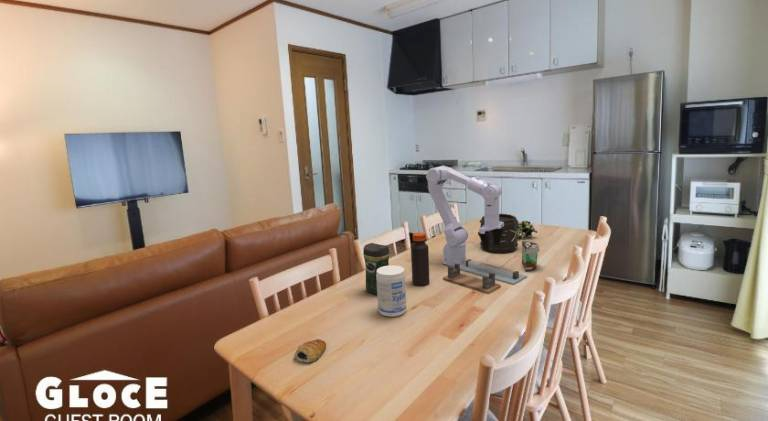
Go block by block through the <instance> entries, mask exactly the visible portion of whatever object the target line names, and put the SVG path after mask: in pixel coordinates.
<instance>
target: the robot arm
mask: <svg viewBox="0 0 768 421" xmlns="http://www.w3.org/2000/svg"><path fill="white" fill-rule="evenodd" d="M425 178H426V181H427V187H428V188H427V190H428V192H429V195H430V197H431V199H432V200H433V203H434V205H435V207H436V209H437V212H438V213H439V216H440V218H441V219H442V222H443V224H444V226H445V228H444V231H443V233H444V235H445V242H446V243H445V244H444V246H443V249H442V250H443V251H442V253H443V255H442V256H443V261H442V265H447V266H451V267H453V268H454V264H455V263H457V264H460V267H461V266H464V265H466V260H467V259H466V257H467V255H466V250H467V249H466V248H467V247H466V241H467V240H468V238H469V232H468V230H467V229H465V228H464V226H463V224H461V222H458V221H457V218H456V216H455V214H454V212H453V210H452V208H451V206H450V204H449V202H448V200H447V197H446V195H445V193H444V191H443V187H444V184H445V183H446V182H447V180H452V181H454V182H457V183H459V184H462V185H465V186H466V188H467V189H468V190H469V191H471V192H472V193H475V194H477V195H479V196H481V197H482V199H483V201H484V216H485V225H483V226H482V227H481V228H480V227H479V229H478V232H477V235H478V236H479V238H480V242H481V241H482V244H483V248H484V249H486V250H489V246H490V239H491V236H492V234H490V233H489V232H488V231H491V230H492V232H493V237H494V244H495V245H500V241H501V238H502V235H503V233H504V231H505V228H502V227H504V222H500V221H499V214H500V197H501V195H502V193H503V192H502V188H501V187H500V185H498V184H497V183H492V184H491V182H489V181H485V180H483V179H481V178H480V176H473V177H469V176H467V175H465V174H463V173H461V172H458V171H457V170H455V169H453V168H452V167H450V166H449V167H448V166H447V165H440V166H436V167H431V168H428V171H427V173H426V175H425ZM483 248H482V249H483ZM484 249H483V250H484Z"/></svg>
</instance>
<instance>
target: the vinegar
mask: <svg viewBox="0 0 768 421" xmlns="http://www.w3.org/2000/svg"><path fill="white" fill-rule="evenodd" d="M412 242H413V243H412V244H411V246H410V258H411V259H410V260H411V263H410V264H411V278H412V279H411V280H412V281H411V283H412V284H413V285H414V286H417V287H425V286H427V285H429V284H430V256H429V246H428V244H427V243H426V233H425V232H414V233H412Z"/></svg>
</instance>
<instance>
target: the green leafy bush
mask: <svg viewBox="0 0 768 421" xmlns="http://www.w3.org/2000/svg"><path fill="white" fill-rule="evenodd" d="M518 222H519V221H518ZM533 233H535V234H537V233H538V230H536V229H535V227H534V224H531V221H528V220H522V221H521V222H519V223H518V238H520V234H521V239H520V241H523V238H525V237H529V236H533Z"/></svg>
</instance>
